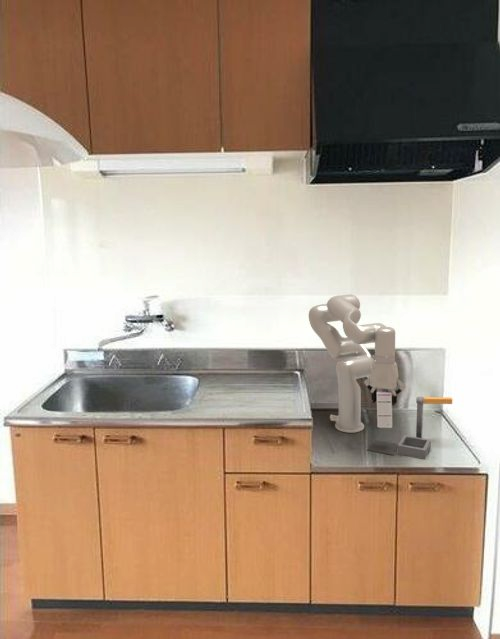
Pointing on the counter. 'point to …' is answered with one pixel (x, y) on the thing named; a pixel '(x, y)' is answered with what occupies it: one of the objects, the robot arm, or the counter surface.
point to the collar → (414, 450)
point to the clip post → (419, 420)
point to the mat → (383, 447)
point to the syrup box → (384, 408)
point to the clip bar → (434, 400)
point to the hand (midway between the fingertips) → (384, 402)
